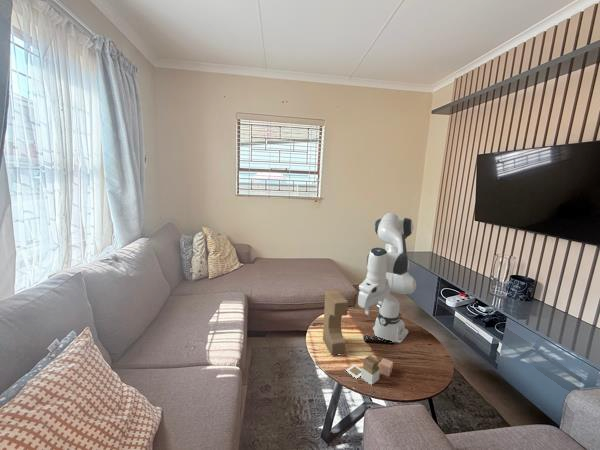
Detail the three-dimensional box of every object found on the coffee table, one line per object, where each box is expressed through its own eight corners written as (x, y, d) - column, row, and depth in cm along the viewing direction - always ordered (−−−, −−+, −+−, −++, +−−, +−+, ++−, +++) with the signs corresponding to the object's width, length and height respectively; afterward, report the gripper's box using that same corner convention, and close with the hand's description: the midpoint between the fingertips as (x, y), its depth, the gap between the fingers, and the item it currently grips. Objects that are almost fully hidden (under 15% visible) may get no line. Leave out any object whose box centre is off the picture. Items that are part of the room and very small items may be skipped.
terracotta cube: (381, 366, 137) (382, 357, 136) (392, 370, 134) (393, 361, 133) (378, 372, 133) (379, 363, 132) (389, 376, 130) (390, 367, 129)
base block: (368, 372, 133) (369, 363, 132) (379, 379, 128) (379, 370, 127) (360, 378, 129) (361, 368, 128) (371, 385, 124) (372, 375, 123)
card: (354, 364, 137) (354, 363, 137) (365, 372, 132) (365, 371, 132) (345, 371, 133) (345, 369, 133) (356, 379, 127) (356, 378, 127)
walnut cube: (369, 364, 131) (370, 354, 130) (378, 370, 127) (379, 360, 126) (362, 368, 128) (363, 359, 127) (371, 374, 124) (372, 365, 123)
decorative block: (344, 354, 145) (348, 302, 139) (331, 356, 143) (334, 303, 138) (334, 338, 159) (337, 290, 154) (322, 339, 157) (325, 290, 152)
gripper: (382, 275, 135) (380, 301, 138) (356, 286, 122) (354, 314, 125) (394, 279, 130) (391, 306, 133) (368, 291, 117) (366, 320, 120)
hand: (373, 310), depth 129 cm, fingers open, 8 cm apart
